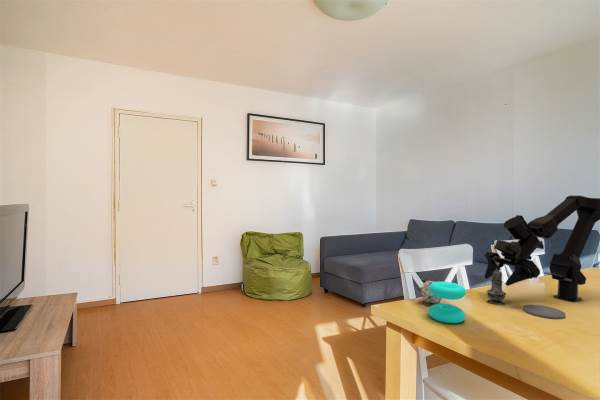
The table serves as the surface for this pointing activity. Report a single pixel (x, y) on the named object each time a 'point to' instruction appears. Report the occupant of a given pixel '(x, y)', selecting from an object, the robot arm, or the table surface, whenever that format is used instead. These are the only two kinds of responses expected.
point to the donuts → (447, 311)
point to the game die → (428, 293)
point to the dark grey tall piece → (496, 289)
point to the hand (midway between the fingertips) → (495, 281)
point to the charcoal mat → (544, 311)
